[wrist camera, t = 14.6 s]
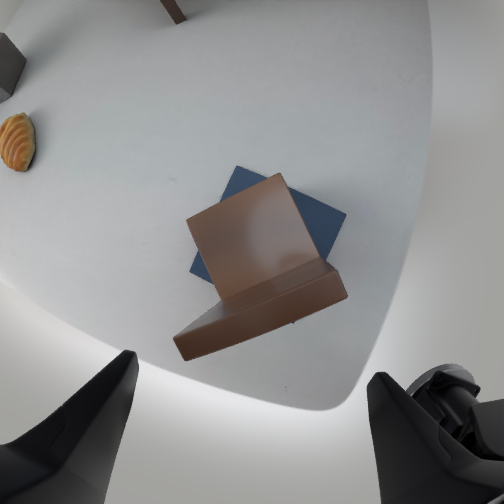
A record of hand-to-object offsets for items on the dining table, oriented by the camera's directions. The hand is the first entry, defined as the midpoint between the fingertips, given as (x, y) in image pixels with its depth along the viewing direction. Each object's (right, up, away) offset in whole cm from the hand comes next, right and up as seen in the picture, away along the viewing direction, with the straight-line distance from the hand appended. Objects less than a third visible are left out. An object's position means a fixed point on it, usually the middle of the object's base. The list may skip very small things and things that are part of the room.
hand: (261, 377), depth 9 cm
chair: (+1, +5, +11) cm, 13 cm away
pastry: (-31, +19, +17) cm, 40 cm away
